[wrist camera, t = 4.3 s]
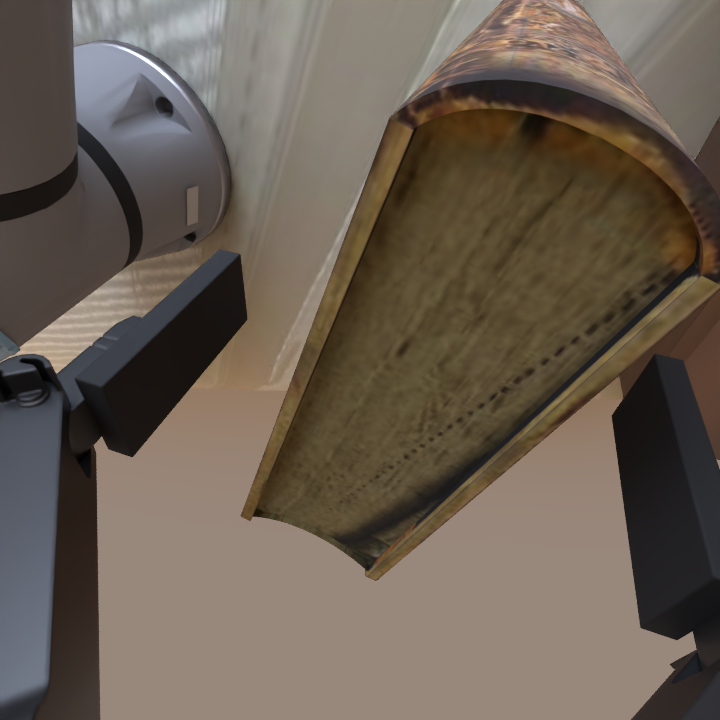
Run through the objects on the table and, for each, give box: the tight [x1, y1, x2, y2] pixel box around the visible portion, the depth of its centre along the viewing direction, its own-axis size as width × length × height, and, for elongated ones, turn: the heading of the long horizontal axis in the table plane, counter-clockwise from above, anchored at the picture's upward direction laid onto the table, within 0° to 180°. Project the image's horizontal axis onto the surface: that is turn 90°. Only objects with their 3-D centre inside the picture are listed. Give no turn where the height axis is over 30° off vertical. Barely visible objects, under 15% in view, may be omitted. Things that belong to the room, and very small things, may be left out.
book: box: [241, 0, 720, 581], centre depth 20 cm, size 16×6×25 cm, turn 160°
